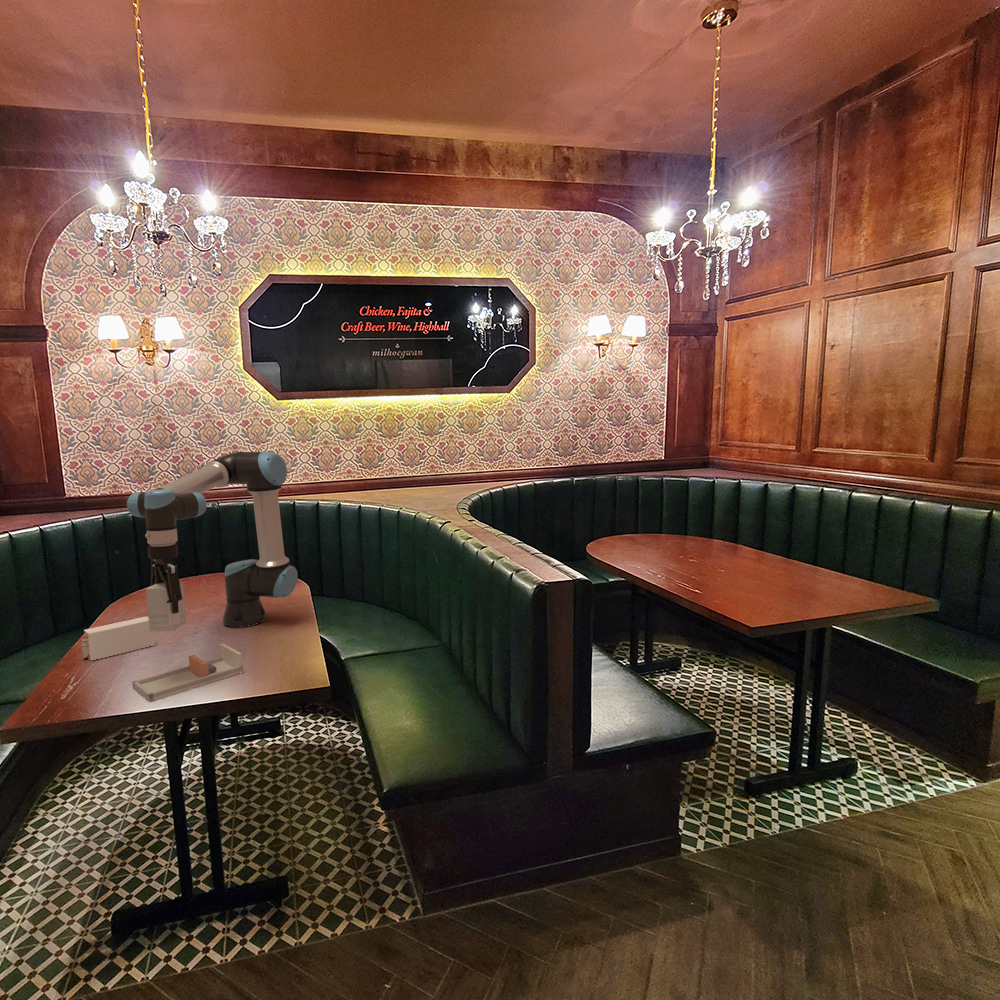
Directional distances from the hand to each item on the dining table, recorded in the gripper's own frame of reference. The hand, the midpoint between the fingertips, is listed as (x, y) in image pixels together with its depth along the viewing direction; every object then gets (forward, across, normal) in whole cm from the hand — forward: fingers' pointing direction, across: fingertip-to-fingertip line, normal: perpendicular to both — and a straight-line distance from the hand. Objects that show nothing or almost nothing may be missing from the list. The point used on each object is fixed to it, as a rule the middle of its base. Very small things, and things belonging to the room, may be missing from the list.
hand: (167, 619), depth 178 cm
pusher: (+17, +3, +8) cm, 19 cm away
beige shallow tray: (+19, +3, +4) cm, 19 cm away
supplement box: (+2, 0, 0) cm, 2 cm away
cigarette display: (+19, -38, -3) cm, 43 cm away
